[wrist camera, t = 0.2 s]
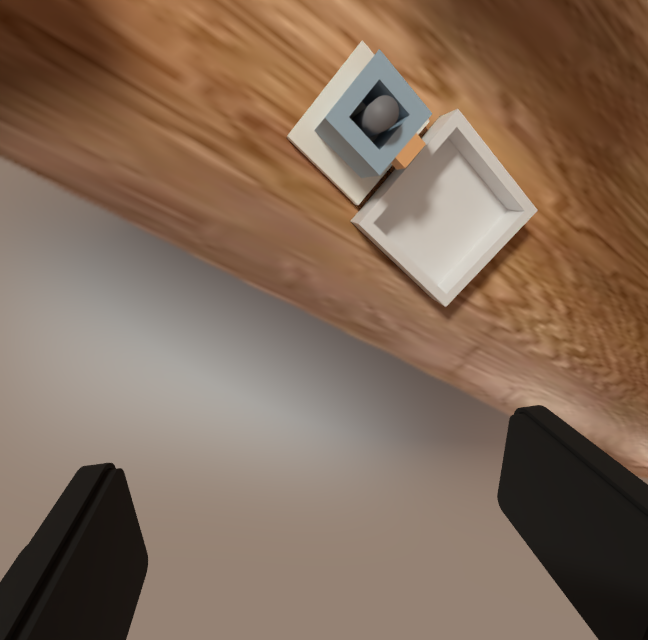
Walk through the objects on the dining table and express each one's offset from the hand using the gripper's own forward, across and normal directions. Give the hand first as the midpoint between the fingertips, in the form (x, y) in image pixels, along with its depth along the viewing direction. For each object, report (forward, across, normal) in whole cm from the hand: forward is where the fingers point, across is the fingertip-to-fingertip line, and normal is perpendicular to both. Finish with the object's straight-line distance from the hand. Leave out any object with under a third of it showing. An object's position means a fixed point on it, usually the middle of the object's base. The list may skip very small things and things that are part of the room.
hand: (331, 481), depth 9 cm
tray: (+30, -17, -4) cm, 35 cm away
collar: (+29, -8, -12) cm, 33 cm away
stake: (+30, -8, -12) cm, 34 cm away
